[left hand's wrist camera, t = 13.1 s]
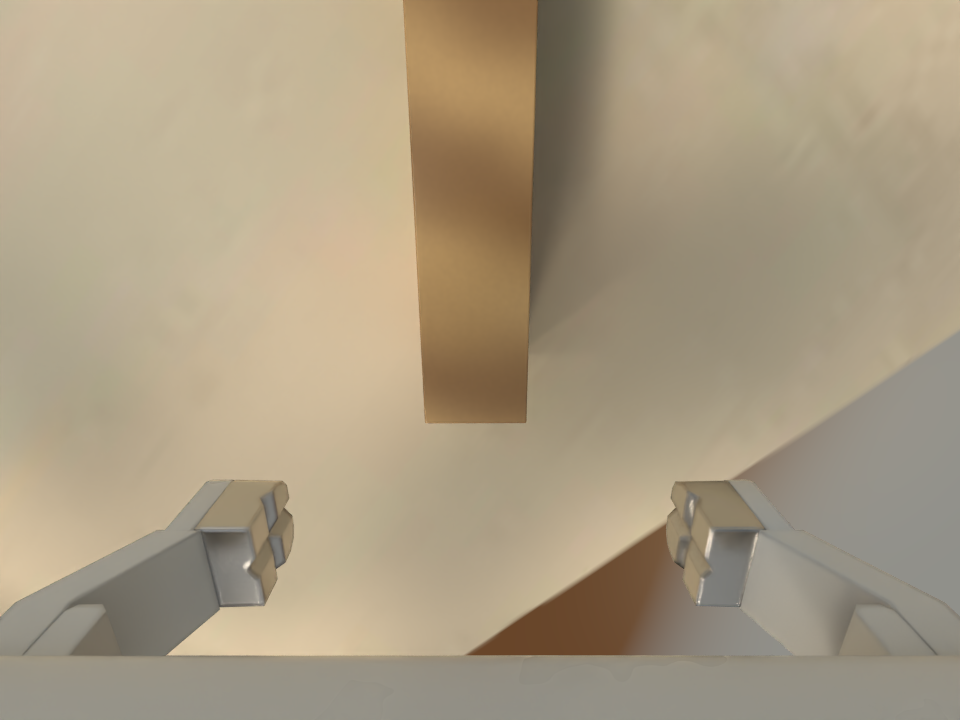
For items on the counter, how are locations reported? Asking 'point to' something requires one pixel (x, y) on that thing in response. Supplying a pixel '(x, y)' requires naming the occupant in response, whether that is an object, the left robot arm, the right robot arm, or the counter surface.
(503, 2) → the post
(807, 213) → the counter surface
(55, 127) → the counter surface
